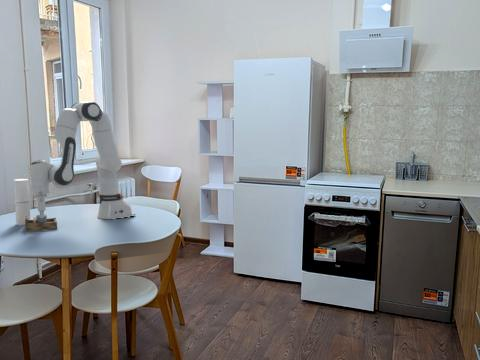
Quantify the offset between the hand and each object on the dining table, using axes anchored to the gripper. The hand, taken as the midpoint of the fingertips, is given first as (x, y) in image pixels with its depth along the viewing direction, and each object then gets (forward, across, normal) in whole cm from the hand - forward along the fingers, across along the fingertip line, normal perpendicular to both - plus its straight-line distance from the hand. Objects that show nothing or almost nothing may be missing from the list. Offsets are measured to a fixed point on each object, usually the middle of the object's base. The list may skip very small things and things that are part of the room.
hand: (41, 215), depth 219 cm
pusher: (+6, 0, +4) cm, 7 cm away
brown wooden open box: (+7, 0, 0) cm, 7 cm away
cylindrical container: (+7, +15, +9) cm, 19 cm away
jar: (+6, 0, 0) cm, 6 cm away
